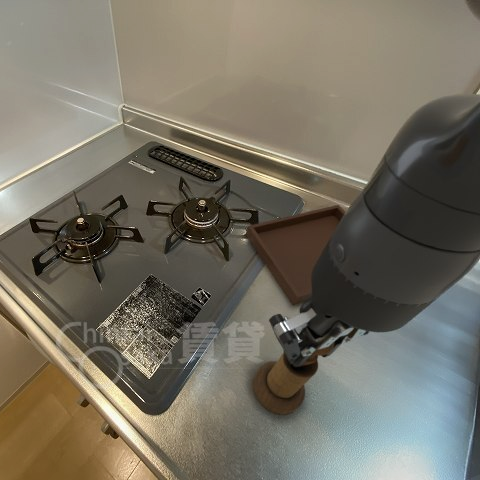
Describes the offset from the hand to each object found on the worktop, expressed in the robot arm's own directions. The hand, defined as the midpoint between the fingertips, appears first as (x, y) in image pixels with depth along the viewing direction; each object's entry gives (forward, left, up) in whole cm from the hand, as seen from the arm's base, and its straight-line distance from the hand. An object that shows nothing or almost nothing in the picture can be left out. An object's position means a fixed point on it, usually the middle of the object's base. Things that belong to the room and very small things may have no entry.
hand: (306, 352), depth 35 cm
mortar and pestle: (0, 0, -13) cm, 13 cm away
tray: (-21, -20, -14) cm, 32 cm away
